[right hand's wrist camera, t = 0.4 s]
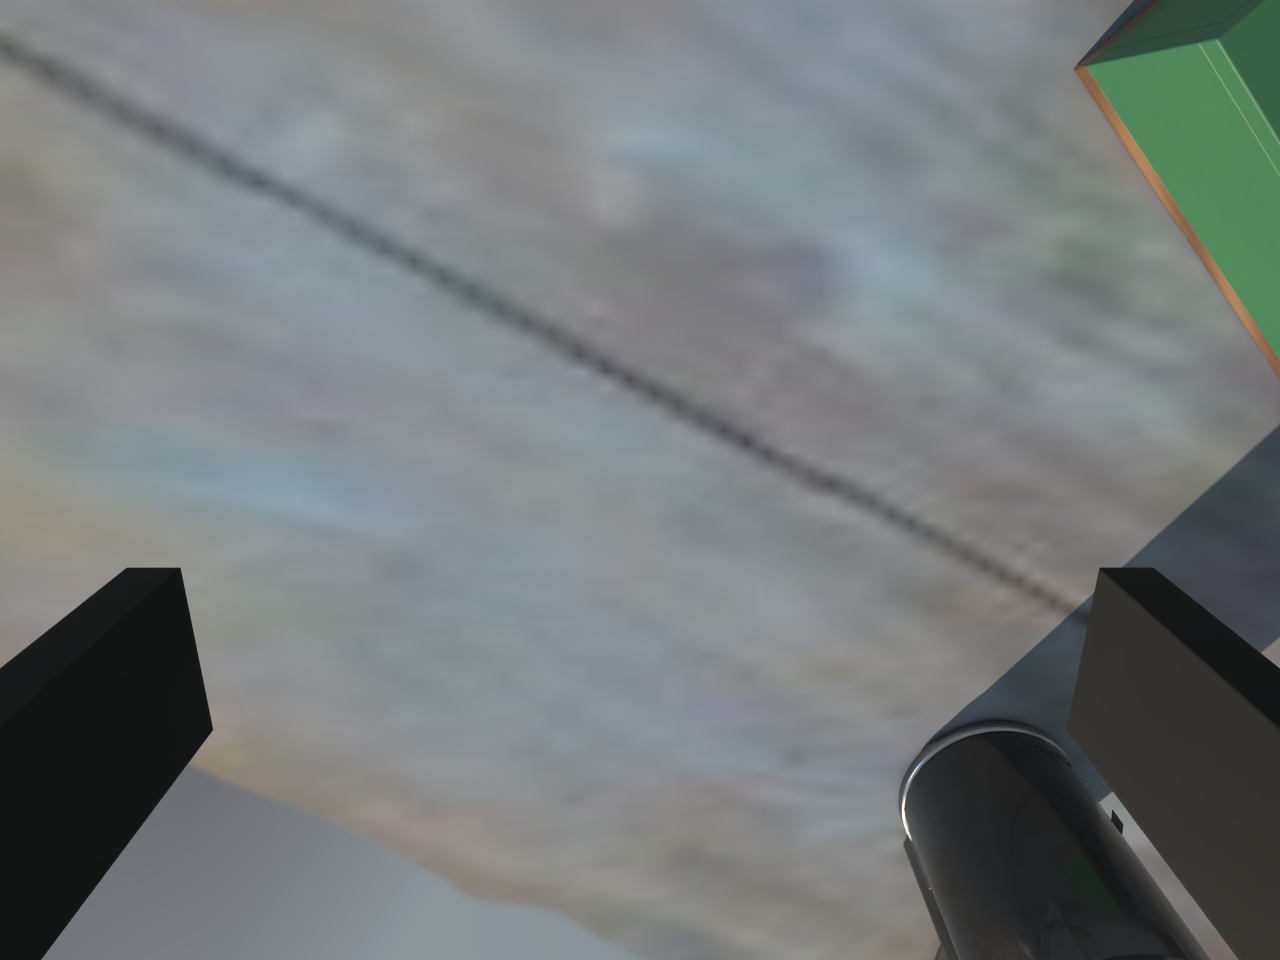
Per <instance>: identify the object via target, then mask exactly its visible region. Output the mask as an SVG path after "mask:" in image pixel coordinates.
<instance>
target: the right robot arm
mask: <svg viewBox="0 0 1280 960" xmlns="http://www.w3.org/2000/svg"><path fill="white" fill-rule="evenodd" d="M212 731H213V727H212V722H211V717H210V712H209V707H208V702H207V697H206V692H205V687H204V682H203V677H202V672H201V667H200V662H199V657H198V652H197V647H196V642H195V637H194V632H193V627H192V622H191V618H190V613H189V608H188V603H187V598H186V593H185V588H184V583H183V578H182V573H181V568H126V569H125V570H123V571H122V572H121V573H120V574H118V575H117V576H116V577H115V578H113V579H112V580H111V581H110V582H108V583H107V584H106V585H105V586H103V587H102V588H101V589H99V590H98V591H97V592H96V593H94V594H93V595H92V596H91V597H89V598H88V599H87V600H86V601H84V602H83V603H82V604H81V605H79V606H78V607H77V608H76V609H74V610H73V611H72V612H71V613H69V614H68V615H67V616H66V617H64V618H63V619H62V620H61V621H59V622H58V623H57V624H56V625H54V626H53V627H52V628H50V629H49V630H48V631H47V632H45V633H44V634H43V635H42V636H40V637H39V638H38V639H37V640H35V641H34V642H33V643H32V644H30V645H29V646H28V647H27V648H25V649H24V650H23V651H22V652H20V653H19V654H18V655H17V656H15V657H14V658H13V659H12V660H10V661H9V662H8V663H7V664H5V665H4V666H3V667H1V668H0V960H41V959H42V958H43V956H44V955H45V954H46V952H47V951H48V950H49V948H50V947H51V946H52V944H53V943H54V942H55V940H56V939H57V938H58V936H59V935H60V934H61V932H62V931H63V930H64V928H65V927H66V926H67V924H68V923H69V922H70V920H71V919H72V918H73V916H74V915H75V914H76V912H77V911H78V910H79V908H80V907H81V906H82V904H83V903H84V902H85V900H86V899H87V898H88V896H89V895H90V894H91V892H92V891H93V890H94V888H95V887H96V886H97V884H98V883H99V882H100V880H101V879H102V878H103V876H104V875H105V874H106V872H107V871H108V870H109V868H110V867H111V866H112V864H113V863H114V862H115V860H116V859H117V858H118V856H119V855H120V854H121V852H122V851H123V850H124V848H125V847H126V846H127V844H128V843H129V842H130V840H131V839H132V838H133V836H134V835H135V834H136V832H137V831H138V830H139V828H140V827H141V826H142V824H143V823H144V822H145V820H146V819H147V818H148V816H149V815H150V813H151V812H152V811H153V809H154V808H155V807H156V805H157V804H158V803H159V801H160V800H161V799H162V797H163V796H164V795H165V793H166V792H167V791H168V789H169V788H170V787H171V785H172V784H173V783H174V781H175V780H176V779H177V777H178V776H179V775H180V773H181V772H182V771H183V769H184V768H185V767H186V765H187V764H188V763H189V761H190V760H191V759H192V757H193V756H194V755H195V753H196V752H197V751H198V749H199V748H200V747H201V745H202V744H203V743H204V741H205V740H206V739H207V737H208V736H209V735H210V733H211V732H212ZM1067 731H1068V732H1069V733H1070V735H1071V736H1072V737H1073V739H1074V740H1075V741H1076V743H1077V744H1078V745H1079V747H1080V748H1081V749H1082V751H1083V752H1084V753H1085V755H1086V756H1087V757H1088V759H1089V760H1090V761H1091V763H1092V764H1093V765H1094V767H1095V768H1096V769H1097V771H1098V772H1099V773H1100V775H1101V776H1102V777H1103V779H1104V780H1105V781H1106V783H1107V784H1108V785H1109V787H1110V788H1111V789H1112V791H1113V792H1114V793H1115V795H1116V796H1117V797H1118V799H1119V800H1120V801H1121V803H1122V804H1123V805H1124V807H1125V808H1126V809H1127V811H1128V812H1129V813H1130V815H1131V816H1132V818H1133V819H1134V820H1135V822H1136V823H1137V824H1138V826H1139V827H1140V828H1141V830H1142V831H1143V832H1144V834H1145V835H1146V836H1147V838H1148V839H1149V840H1150V842H1151V843H1152V844H1153V846H1154V847H1155V848H1156V850H1157V851H1158V852H1159V854H1160V855H1161V856H1162V858H1163V859H1164V860H1165V862H1166V863H1167V864H1168V866H1169V867H1170V868H1171V870H1172V871H1173V872H1174V874H1175V875H1176V876H1177V878H1178V879H1179V880H1180V882H1181V883H1182V884H1183V886H1184V887H1185V888H1186V890H1187V891H1188V892H1189V894H1190V895H1191V896H1192V898H1193V899H1194V900H1195V902H1196V903H1197V904H1198V906H1199V907H1200V908H1201V910H1202V911H1203V912H1204V914H1205V915H1206V916H1207V918H1208V919H1209V920H1210V922H1211V923H1212V924H1213V926H1214V927H1215V928H1216V930H1217V931H1218V932H1219V934H1220V935H1221V936H1222V938H1223V939H1224V940H1225V942H1226V943H1227V944H1228V946H1229V947H1230V948H1231V950H1232V951H1233V952H1234V954H1235V955H1236V956H1237V958H1238V959H1239V960H1280V668H1279V667H1277V666H1276V665H1275V664H1273V663H1272V662H1271V661H1270V660H1268V659H1267V658H1266V657H1265V656H1263V655H1262V654H1261V653H1260V652H1258V651H1257V650H1256V649H1255V648H1253V647H1252V646H1251V645H1250V644H1248V643H1247V642H1246V641H1245V640H1243V639H1242V638H1241V637H1240V636H1238V635H1237V634H1236V633H1235V632H1233V631H1232V630H1231V629H1230V628H1228V627H1227V626H1226V625H1224V624H1223V623H1222V622H1221V621H1219V620H1218V619H1217V618H1216V617H1214V616H1213V615H1212V614H1211V613H1209V612H1208V611H1207V610H1206V609H1204V608H1203V607H1202V606H1201V605H1199V604H1198V603H1197V602H1196V601H1194V600H1193V599H1192V598H1191V597H1189V596H1188V595H1187V594H1186V593H1184V592H1183V591H1182V590H1181V589H1179V588H1178V587H1177V586H1175V585H1174V584H1173V583H1172V582H1170V581H1169V580H1168V579H1167V578H1165V577H1164V576H1163V575H1162V574H1160V573H1159V572H1158V571H1157V570H1155V569H1154V568H1099V573H1098V578H1097V583H1096V588H1095V593H1094V598H1093V603H1092V608H1091V613H1090V618H1089V622H1088V627H1087V632H1086V637H1085V642H1084V647H1083V652H1082V657H1081V662H1080V667H1079V672H1078V677H1077V682H1076V687H1075V692H1074V697H1073V702H1072V707H1071V712H1070V717H1069V722H1068V727H1067Z"/></svg>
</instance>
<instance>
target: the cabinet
mask: <svg viewBox="0 0 1280 960" xmlns="http://www.w3.org/2000/svg"><path fill="white" fill-rule="evenodd" d="M1074 70H1075V71H1076V73H1077V74H1078V76H1079V77H1080V79H1081V80H1082V82H1083V83H1084V85H1085V86H1086V88H1087V89H1088V91H1089V92H1090V94H1091V95H1092V97H1093V98H1094V100H1095V101H1096V103H1097V104H1098V106H1099V107H1100V109H1101V110H1102V112H1103V113H1104V115H1105V116H1106V118H1107V119H1108V121H1109V122H1110V124H1111V125H1112V127H1113V128H1114V130H1115V131H1116V133H1117V134H1118V136H1119V137H1120V139H1121V140H1122V142H1123V143H1124V145H1125V146H1126V148H1127V149H1128V151H1129V152H1130V154H1131V155H1132V157H1133V158H1134V160H1135V161H1136V163H1137V164H1138V166H1139V167H1140V169H1141V170H1142V172H1143V173H1144V175H1145V176H1146V178H1147V179H1148V181H1149V182H1150V184H1151V185H1152V187H1153V188H1154V190H1155V191H1156V193H1157V194H1158V196H1159V197H1160V199H1161V200H1162V202H1163V203H1164V205H1165V206H1166V208H1167V209H1168V211H1169V212H1170V214H1171V215H1172V217H1173V218H1174V220H1175V221H1176V223H1177V224H1178V226H1179V227H1180V229H1181V230H1182V232H1183V233H1184V235H1185V236H1186V238H1187V239H1188V241H1189V242H1190V244H1191V245H1192V247H1193V248H1194V250H1195V251H1196V253H1197V254H1198V256H1199V257H1200V259H1201V260H1202V262H1203V263H1204V265H1205V267H1206V268H1207V270H1208V271H1209V273H1210V274H1211V276H1212V277H1213V279H1214V280H1215V282H1216V283H1217V285H1218V286H1219V288H1220V289H1221V291H1222V292H1223V294H1224V295H1225V297H1226V298H1227V300H1228V301H1229V303H1230V304H1231V306H1232V307H1233V309H1234V310H1235V312H1236V313H1237V315H1238V316H1239V318H1240V319H1241V321H1242V322H1243V324H1244V325H1245V327H1246V328H1247V330H1248V331H1249V333H1250V334H1251V336H1252V337H1253V339H1254V340H1255V342H1256V343H1257V345H1258V346H1259V348H1260V349H1261V351H1262V352H1263V354H1264V355H1265V357H1266V358H1267V360H1268V361H1269V363H1270V364H1271V366H1272V367H1273V369H1274V370H1275V372H1276V373H1277V375H1278V376H1279V378H1280V0H1153V1H1151V2H1150V3H1149V4H1148V5H1147V6H1146V7H1144V8H1143V9H1142V10H1141V11H1140V12H1139V13H1137V14H1136V15H1135V16H1134V17H1133V18H1132V19H1131V20H1129V21H1128V22H1127V23H1126V24H1125V25H1124V26H1122V27H1121V28H1120V29H1119V30H1118V31H1117V32H1115V33H1114V34H1113V35H1112V36H1111V37H1110V38H1109V39H1107V40H1106V41H1105V42H1104V43H1103V44H1102V45H1100V46H1099V47H1098V48H1097V49H1096V50H1095V51H1093V52H1092V53H1091V54H1090V55H1089V56H1088V57H1086V58H1085V59H1084V60H1083V61H1082V62H1081V63H1080V64H1078V65H1077V66H1076V67H1075V68H1074Z"/></svg>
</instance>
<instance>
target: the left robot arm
mask: <svg viewBox="0 0 1280 960" xmlns="http://www.w3.org/2000/svg"><path fill="white" fill-rule="evenodd" d="M899 811H900V816H901V819H902V822H903V824H904V827H905V829H906V832H907V838H906V840H905V842H904V848H905V851H906V854H907V856H908V859H909V861H910V864H911V867H912V869H913V872H914V874H915V877H916V880H917V882H918V885H919V887H920V890H921V893H922V895H923V898H924V901H925V903H926V906H927V908H928V911H929V914H930V916H931V919H932V921H933V924H934V927H935V929H936V932H937V934H938V937H939V940H940V942H941V946H940V948H939V950H938V952H937V955H936V958H935V960H1210V958H1209V957H1208V955H1207V954H1206V953H1205V951H1204V950H1203V948H1202V947H1201V945H1200V944H1199V943H1198V941H1197V940H1196V938H1195V937H1194V936H1193V934H1192V933H1191V931H1190V930H1189V929H1188V927H1187V926H1186V924H1185V923H1184V922H1183V920H1182V919H1181V917H1180V916H1179V915H1178V913H1177V912H1176V910H1175V909H1174V908H1173V906H1172V905H1171V903H1170V902H1169V901H1168V899H1167V898H1166V896H1165V895H1164V893H1163V892H1162V891H1161V889H1160V888H1159V886H1158V885H1157V884H1156V882H1155V881H1154V879H1153V878H1152V877H1151V875H1150V874H1149V872H1148V871H1147V870H1146V868H1145V867H1144V865H1143V864H1142V863H1141V861H1140V860H1139V858H1138V857H1137V856H1136V854H1135V853H1134V851H1133V850H1132V848H1131V847H1130V846H1129V844H1128V843H1127V841H1126V840H1125V839H1124V837H1123V836H1122V830H1123V823H1122V822H1121V821H1120V819H1119V818H1118V816H1117V815H1116V814H1115V812H1114V811H1113V810H1112V819H1110V818H1109V816H1108V815H1107V813H1106V812H1105V811H1104V809H1103V808H1102V806H1101V805H1100V803H1099V802H1098V801H1097V799H1096V798H1095V796H1094V795H1093V793H1092V792H1091V791H1090V789H1089V788H1088V786H1087V785H1086V784H1085V782H1084V781H1083V779H1082V778H1081V777H1080V775H1079V774H1078V772H1077V770H1076V768H1075V766H1074V764H1073V762H1072V761H1071V759H1070V758H1069V756H1068V755H1067V754H1066V752H1065V751H1064V750H1063V748H1062V747H1061V746H1060V745H1059V744H1058V743H1057V742H1056V741H1055V740H1054V739H1053V738H1052V737H1050V736H1049V735H1047V734H1046V733H1044V732H1042V731H1040V730H1038V729H1036V728H1034V727H1031V726H1028V725H1025V724H1021V723H1016V722H1008V721H989V722H981V723H975V724H971V725H967V726H964V727H961V728H958V729H956V730H954V731H951V732H949V733H947V734H945V735H943V736H942V737H940V738H938V739H937V740H935V741H934V742H933V743H931V744H930V745H929V746H927V747H926V748H925V749H924V750H923V751H922V752H921V753H920V754H919V755H918V756H917V757H916V758H915V760H914V761H913V762H912V764H911V765H910V767H909V768H908V770H907V772H906V774H905V776H904V778H903V781H902V783H901V787H900V792H899Z"/></svg>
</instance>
